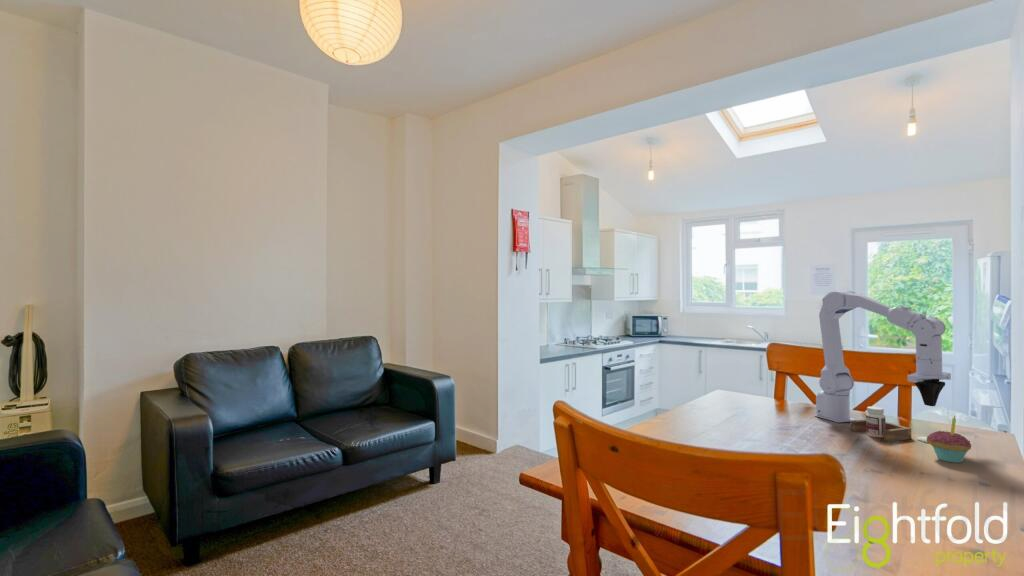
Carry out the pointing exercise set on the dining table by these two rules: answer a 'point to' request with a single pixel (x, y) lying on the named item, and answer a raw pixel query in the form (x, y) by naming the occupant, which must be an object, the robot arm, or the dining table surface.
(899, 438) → the walnut corral
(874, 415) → the pill bottle
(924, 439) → the disc
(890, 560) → the dining table surface
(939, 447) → the cupcake
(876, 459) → the dining table surface
